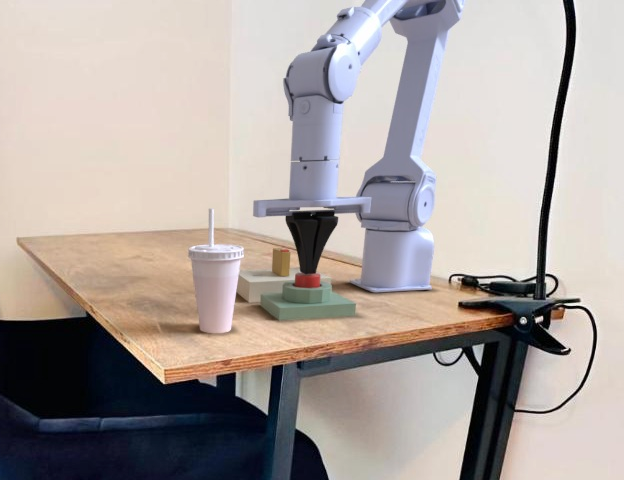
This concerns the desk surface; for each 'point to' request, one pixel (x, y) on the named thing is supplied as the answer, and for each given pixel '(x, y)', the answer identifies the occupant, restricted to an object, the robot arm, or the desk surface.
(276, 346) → the desk surface
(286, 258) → the thumbturn
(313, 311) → the green square plate
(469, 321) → the desk surface
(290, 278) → the plate
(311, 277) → the lock button
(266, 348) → the desk surface
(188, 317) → the desk surface
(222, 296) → the smoothie
